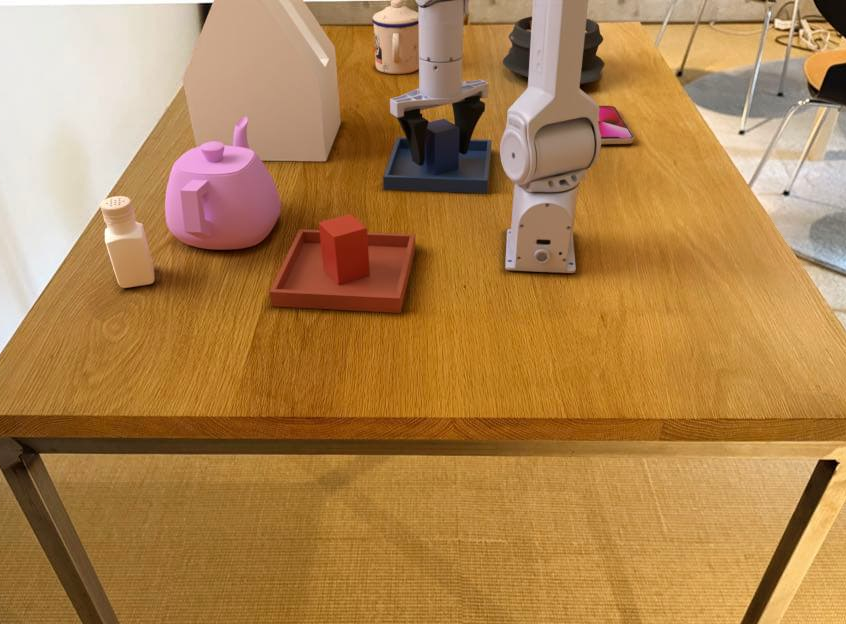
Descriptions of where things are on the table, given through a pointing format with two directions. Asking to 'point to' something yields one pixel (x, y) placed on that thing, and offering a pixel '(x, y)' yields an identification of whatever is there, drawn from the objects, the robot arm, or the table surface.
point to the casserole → (522, 41)
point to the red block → (344, 248)
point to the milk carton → (264, 80)
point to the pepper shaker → (126, 243)
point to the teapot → (221, 195)
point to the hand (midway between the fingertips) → (439, 157)
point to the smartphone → (613, 127)
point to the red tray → (376, 293)
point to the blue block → (441, 147)
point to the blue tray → (417, 178)
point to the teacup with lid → (396, 39)
